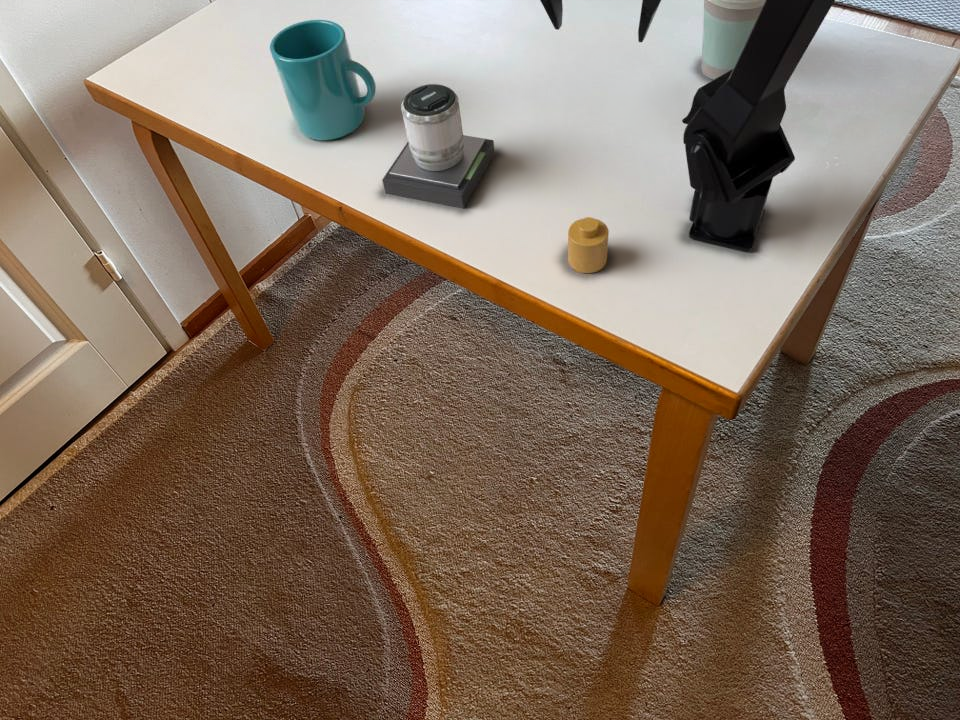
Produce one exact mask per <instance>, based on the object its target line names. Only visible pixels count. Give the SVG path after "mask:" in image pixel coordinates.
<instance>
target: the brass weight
mask: <svg viewBox="0 0 960 720" xmlns="http://www.w3.org/2000/svg"><path fill="white" fill-rule="evenodd" d="M567 230H568V232H567V262H568V265H569V266H570V268H572V269H573V270H574V271H575V272H578V273H581V274H594V273H596V272H599V271H600V270H602V269H603V268H604V267H605V266H606V264H607V263H608V262H607V261H608V248H609V234H610V231H609V227H608V226H607V225H606V223H605V222H603V221H602V220H600V219H597V218H595V217H590V216H589V217H583V218H580V219H577V220H576V221H574V222H573V223H571V225H569V228H568V229H567Z"/></svg>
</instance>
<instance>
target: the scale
mask: <svg viewBox="0 0 960 720" xmlns="http://www.w3.org/2000/svg"><path fill="white" fill-rule="evenodd" d="M463 136H464V149H463V155H462V158H461V160H460V161H459V162H458V164H456V165H454V166H453V167H451V168H448V169H445V170H441V171H430V170H425V169H423V168H421V167H420V166H418V165H417V163H416V161H415V159H414V157H413V156H412V153H411V150H410V147H409V141H408V140H407V142H406V144H405V145H404V146H403V148H402V150H401V151H400V153H399V154H398V156H396V158H395V159H394V161H393V163H392V164H391V166H390V167H389V168H388V171H386V174H385V175H384V176H383V178H382V179H381V181H382V184H383V185H382V186H383V189H384V192H385V194H388V195H393V196H398V197H404V198H408V199H414V200H417V201H418V200H419V201H423V202H429V203H433V204H439V205H444V206H449V207H453V208H460V209H465V207H466V205H467V204H468V202H469V201H470V198H471V197H472V195H473V194H474V191H475V190H476V188H477V186H478V185H479V183H480V181H481V179H482V178H483V175H484V174H485V172H486V170H487V168H488V167H489V165H490V163H491V161H492V160H493V158H494V156H495V154H496V153H495V141H494V139H488V138H484V137H477V136H473V135H465V134H463Z"/></svg>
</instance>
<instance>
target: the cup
mask: <svg viewBox="0 0 960 720" xmlns="http://www.w3.org/2000/svg"><path fill="white" fill-rule="evenodd" d="M269 52H270V55H271V57H272V60H273V63H274V66H275V69H276V72H277V74H278V77H279V81H280V83H281V86H282V88H283V92H284V94H285V98H286V100H287V103H288V105H289V108H290V111H291V114H292V117H293V120H294V123H295V126H296V129H298V131H299V132H300V133H301V134H302V135H303V136H305V137H306V138H309V139H311V140H316V141H332V140H337V139H340V138H343V137H345V136H347V135H350V134H351V133H352V132H353V133H354V131H356V129H358V128H359V126H360V125H361V124H362V123H363V121H364V119H365V115H366V110H365V109H366V108H365V106H367V105H369V104H370V103H371V102H372V101H373V99H374V98H375V96H376V91H377V85H376V81H375V78H374V76H373V74H372V73H371V71H369V69H368V68H367V67H365V66H364V65H363V64H361V63H359V62H358V61H355V60H353V58H352V53H351V50H350V46H349V42H348V39H347V35H346V32H345V30H344V27H342V26H341V25H340V24H339V23H337V22H335V21H331V20H327V19H309V20H304V21H299V22H295V23H293V24H291V25H289V26H287V27H285V28H283V29H281V30H280V31H278V33H276V34H275V35H274V37H273V38H272V39H271V41H270V43H269ZM358 76H359V77H360V78H361V79H362V80H363V82H364V83H365V87H366V94H364V95H363V96H362V93H361V90H360V86H359V82H358V79H357V77H358Z"/></svg>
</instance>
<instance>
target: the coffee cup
mask: <svg viewBox="0 0 960 720" xmlns="http://www.w3.org/2000/svg"><path fill="white" fill-rule="evenodd" d="M765 2H766V0H703V16H702V17H703V18H702V38H701V39H702V40H701V41H702V42H701V67H700V68H701V72H702V74H703V75H704V76H705V77H707V78H708V79H711V80H712V81H713V80H714V79H716V78H718V77H719V76H721V75H723V74H725V73H726V72H728V71H730V70H732V69H733V68H734V66H735V64H736V62H737V60H738V58H739V56H740V54H741V52H742V50H743V48H744V45H745V43H746V41H747V39H748V37H749V35H750V33H751V31H752V29H753V27H754V25H755V22H756V20H757V18H758V16H759V14H760V12H761V10H762V8H763V6H764V4H765Z"/></svg>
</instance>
